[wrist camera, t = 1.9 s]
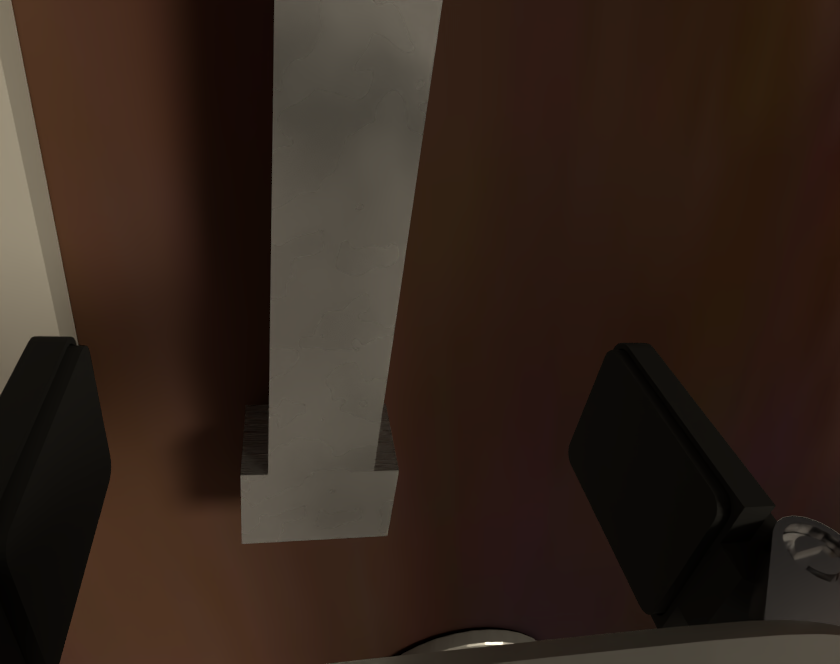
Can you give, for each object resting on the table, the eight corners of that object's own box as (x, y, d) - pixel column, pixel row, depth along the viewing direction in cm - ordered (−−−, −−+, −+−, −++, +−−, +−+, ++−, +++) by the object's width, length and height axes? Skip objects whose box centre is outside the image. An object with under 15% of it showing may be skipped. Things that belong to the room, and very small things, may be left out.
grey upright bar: (376, 466, 30) (387, 535, 27) (246, 470, 29) (242, 543, 25) (501, -378, 15) (563, -454, 11) (233, -456, 13) (217, -566, 10)
